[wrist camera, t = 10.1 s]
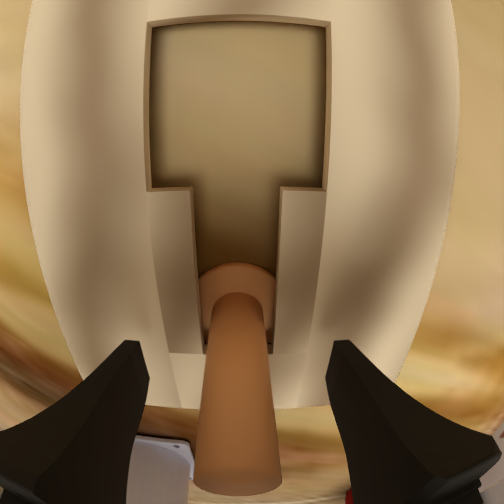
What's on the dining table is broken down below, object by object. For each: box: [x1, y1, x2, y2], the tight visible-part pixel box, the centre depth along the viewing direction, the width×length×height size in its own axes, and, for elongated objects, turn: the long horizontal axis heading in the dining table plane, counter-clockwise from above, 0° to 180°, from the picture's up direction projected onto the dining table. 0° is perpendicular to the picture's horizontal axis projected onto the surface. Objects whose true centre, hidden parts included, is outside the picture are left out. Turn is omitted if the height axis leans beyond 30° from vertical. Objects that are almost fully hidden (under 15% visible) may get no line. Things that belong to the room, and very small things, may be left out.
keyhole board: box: [20, 0, 460, 409], centre depth 11 cm, size 18×22×2 cm
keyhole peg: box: [193, 262, 282, 496], centre depth 10 cm, size 5×5×9 cm
